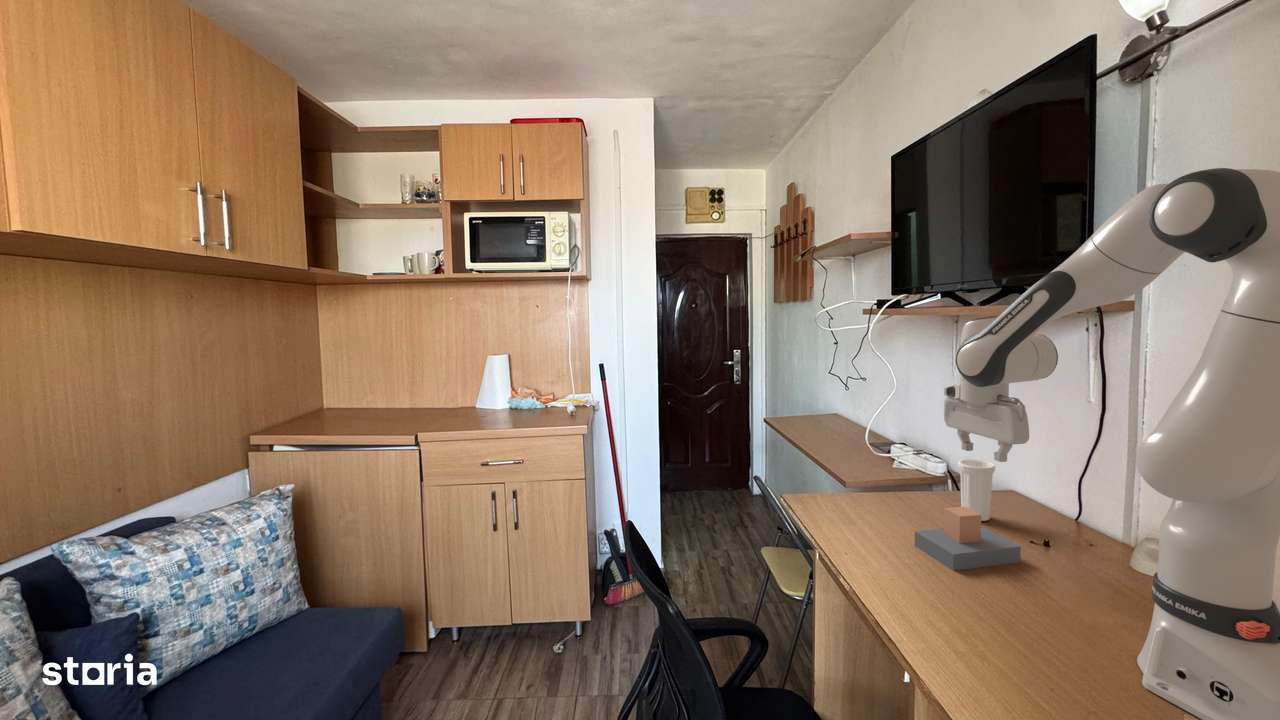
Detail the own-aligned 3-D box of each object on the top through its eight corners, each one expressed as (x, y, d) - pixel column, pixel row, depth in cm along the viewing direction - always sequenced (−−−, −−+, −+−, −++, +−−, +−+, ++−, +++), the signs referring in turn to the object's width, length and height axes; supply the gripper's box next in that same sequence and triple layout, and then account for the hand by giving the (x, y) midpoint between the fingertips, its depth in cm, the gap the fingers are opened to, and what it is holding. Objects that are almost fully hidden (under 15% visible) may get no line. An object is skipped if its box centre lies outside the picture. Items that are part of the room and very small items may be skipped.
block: (980, 541, 116) (981, 514, 115) (959, 543, 115) (959, 516, 115) (964, 532, 121) (964, 506, 120) (943, 533, 120) (944, 508, 120)
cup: (985, 512, 140) (986, 459, 139) (1000, 524, 132) (1001, 468, 131) (951, 511, 142) (952, 458, 140) (964, 523, 134) (966, 467, 133)
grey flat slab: (1020, 564, 113) (1020, 546, 113) (952, 572, 111) (953, 554, 110) (975, 540, 125) (976, 524, 125) (914, 547, 123) (914, 531, 122)
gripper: (1038, 398, 104) (1037, 467, 106) (963, 385, 125) (963, 443, 126) (1009, 400, 104) (1009, 469, 105) (938, 387, 124) (938, 445, 125)
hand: (983, 455), depth 115 cm, fingers open, 8 cm apart
